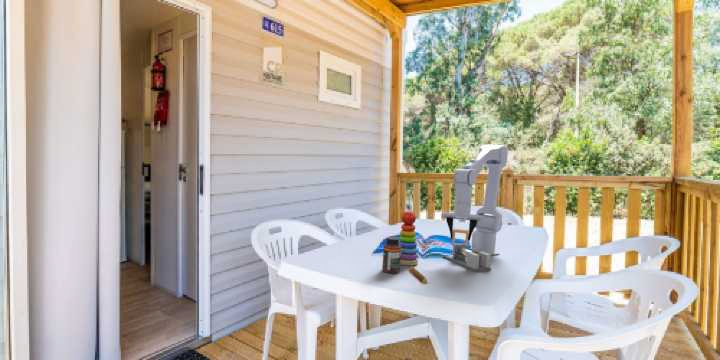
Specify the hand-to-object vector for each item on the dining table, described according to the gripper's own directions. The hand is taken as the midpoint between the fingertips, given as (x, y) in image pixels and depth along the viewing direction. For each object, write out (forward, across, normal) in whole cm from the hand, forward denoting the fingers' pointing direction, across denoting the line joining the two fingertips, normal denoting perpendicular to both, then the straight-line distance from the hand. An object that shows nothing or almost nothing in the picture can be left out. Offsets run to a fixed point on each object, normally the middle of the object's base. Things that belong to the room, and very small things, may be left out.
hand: (460, 239), depth 142 cm
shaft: (+8, +3, +1) cm, 8 cm away
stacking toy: (+9, -18, -7) cm, 21 cm away
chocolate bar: (+10, -13, -21) cm, 26 cm away
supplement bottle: (+9, -22, -19) cm, 30 cm away
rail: (+9, +3, +1) cm, 10 cm away
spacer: (+2, 0, 0) cm, 2 cm away
